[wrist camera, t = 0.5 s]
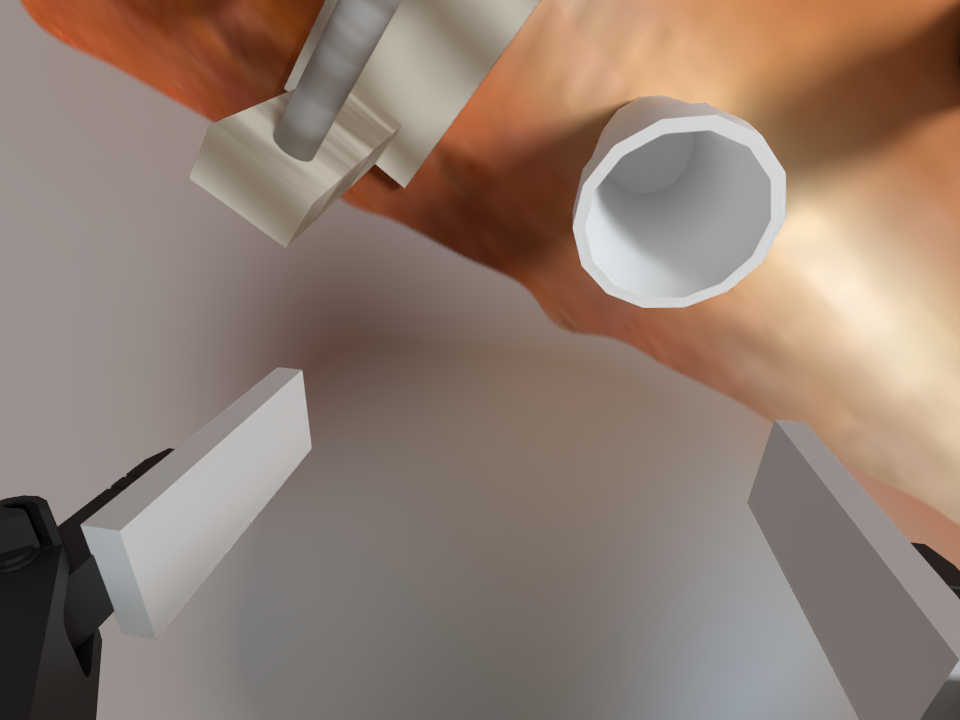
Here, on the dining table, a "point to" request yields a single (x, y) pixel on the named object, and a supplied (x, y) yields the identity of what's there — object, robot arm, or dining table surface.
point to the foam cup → (676, 203)
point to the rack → (355, 106)
